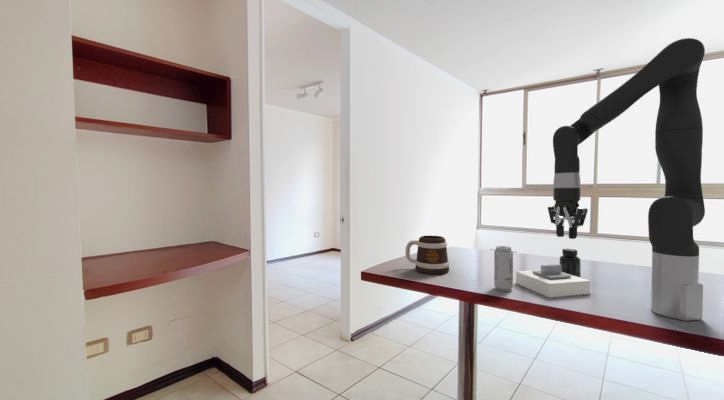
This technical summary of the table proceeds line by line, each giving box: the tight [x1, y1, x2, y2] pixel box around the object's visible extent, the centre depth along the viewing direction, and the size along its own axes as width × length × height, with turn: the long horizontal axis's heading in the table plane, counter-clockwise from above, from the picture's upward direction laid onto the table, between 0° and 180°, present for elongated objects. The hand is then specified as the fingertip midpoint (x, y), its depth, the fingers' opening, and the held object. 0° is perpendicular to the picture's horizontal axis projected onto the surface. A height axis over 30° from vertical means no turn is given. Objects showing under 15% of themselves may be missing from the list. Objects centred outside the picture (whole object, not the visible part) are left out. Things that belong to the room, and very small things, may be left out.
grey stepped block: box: [532, 263, 571, 279], centre depth 110 cm, size 8×8×4 cm
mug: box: [404, 235, 451, 276], centre depth 137 cm, size 20×15×15 cm
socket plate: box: [515, 269, 591, 298], centre depth 110 cm, size 16×16×4 cm
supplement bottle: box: [559, 248, 582, 278], centre depth 119 cm, size 7×7×12 cm
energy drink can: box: [493, 245, 514, 292], centre depth 109 cm, size 6×6×15 cm
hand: (566, 237), depth 103 cm, fingers open, 4 cm apart
